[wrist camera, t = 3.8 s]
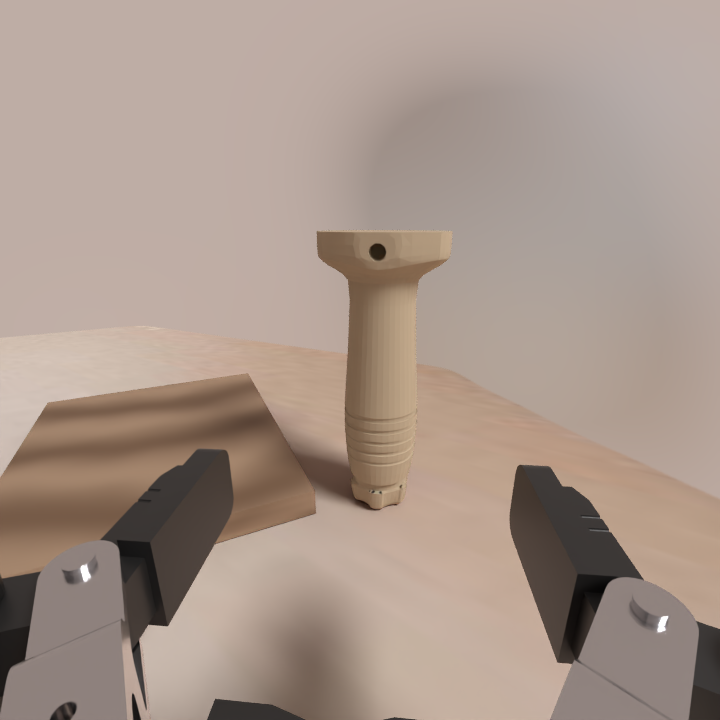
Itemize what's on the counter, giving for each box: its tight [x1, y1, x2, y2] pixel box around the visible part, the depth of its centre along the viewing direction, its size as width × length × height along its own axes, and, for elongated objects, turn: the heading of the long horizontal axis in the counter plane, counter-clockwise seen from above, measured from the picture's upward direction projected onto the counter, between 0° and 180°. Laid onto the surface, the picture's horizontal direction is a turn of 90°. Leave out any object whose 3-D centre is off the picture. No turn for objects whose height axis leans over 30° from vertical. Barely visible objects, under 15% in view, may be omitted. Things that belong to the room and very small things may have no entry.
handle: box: [317, 230, 452, 509], centre depth 22 cm, size 5×6×15 cm
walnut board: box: [0, 373, 316, 578], centre depth 28 cm, size 20×16×2 cm
